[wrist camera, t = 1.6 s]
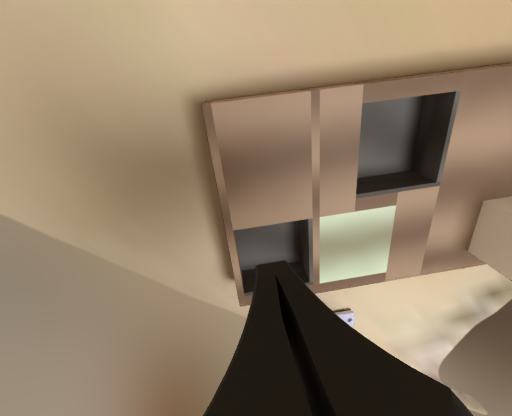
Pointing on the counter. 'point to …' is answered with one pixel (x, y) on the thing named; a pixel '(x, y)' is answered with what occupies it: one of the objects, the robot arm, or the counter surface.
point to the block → (494, 235)
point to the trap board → (361, 175)
